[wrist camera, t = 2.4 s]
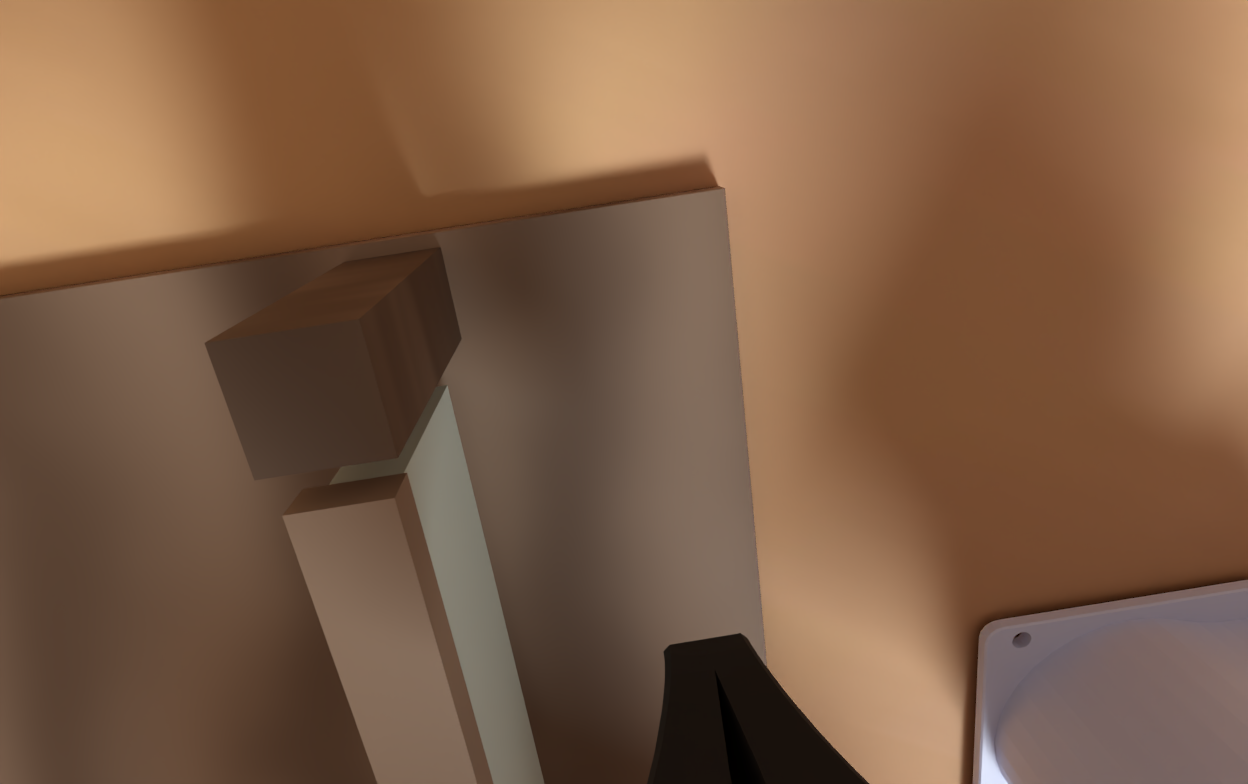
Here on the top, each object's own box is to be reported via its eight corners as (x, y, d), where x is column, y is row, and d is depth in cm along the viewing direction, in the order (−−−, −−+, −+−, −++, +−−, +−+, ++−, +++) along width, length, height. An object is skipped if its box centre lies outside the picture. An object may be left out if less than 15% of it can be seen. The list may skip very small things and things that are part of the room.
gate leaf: (568, 850, 20) (566, 1091, 15) (512, 859, 20) (491, 1103, 15) (454, 375, 15) (394, 498, 10) (379, 386, 15) (282, 515, 10)
